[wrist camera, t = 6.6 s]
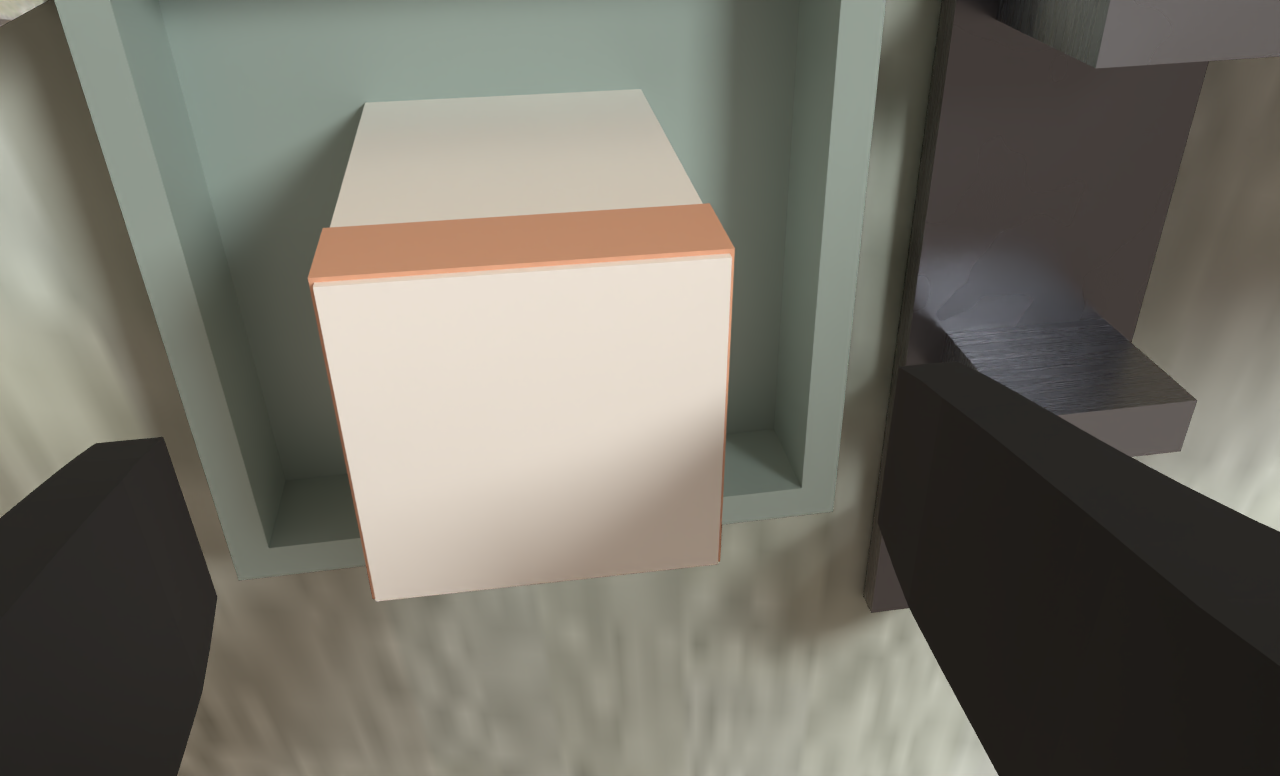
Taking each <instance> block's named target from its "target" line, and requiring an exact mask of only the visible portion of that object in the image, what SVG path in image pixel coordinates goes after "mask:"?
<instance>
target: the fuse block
mask: <svg viewBox="0 0 1280 776" xmlns="http://www.w3.org/2000/svg"><path fill="white" fill-rule="evenodd" d="M1278 56H1280V0H942V4H941V12H940V19H939V27H938V34H937V42H936V50H935V57H934V65H933V72H932V80H931V87H930V95H929V103H928V110H927V118H926V125H925V133H924V141H923V148H922V156H921V163H920V171H919V178H918V186H917V194H916V201H915V209H914V216H913V224H912V232H911V239H910V247H909V254H908V262H907V269H906V277H905V285H904V292H903V300H902V307H901V315H900V323H899V330H898V338H897V345H896V353H895V361H894V368H893V376H892V383H891V391H890V398H889V406H888V414H887V421H886V429H885V436H884V444H883V452H882V459H881V467H880V474H879V482H878V489H877V497H876V505H875V512H874V520H873V527H872V535H871V543H870V550H869V558H868V565H867V573H866V580H865V588H864V596H863V597H864V599H865V601H866V603H867V605H868V607H869V609H870V611H871V613H873V612H881V611H889V610H896V609H904V608H909V606H908V604H907V601H906V599H905V596H904V594H903V591H902V589H901V586H900V583H899V581H898V578H897V576H896V573H895V570H894V568H893V565H892V562H891V559H890V556H889V554H888V551H887V548H886V545H885V542H884V539H883V537H882V534H881V531H880V528H879V525H878V515H879V508H880V501H881V493H882V486H883V479H884V471H885V464H886V457H887V449H888V442H889V435H890V427H891V420H892V413H893V405H894V398H895V391H896V383H897V376H898V368H899V366H909V365H920V364H930V363H941V362H951V361H957V362H960V363H962V364H964V365H966V366H968V367H970V368H972V369H974V370H976V371H978V372H980V373H982V374H984V375H986V376H988V377H990V378H992V379H994V380H995V381H997V382H999V383H1001V384H1003V385H1004V386H1006V387H1008V388H1010V389H1012V390H1013V391H1015V392H1017V393H1019V394H1020V395H1022V396H1024V397H1026V398H1028V399H1029V400H1031V401H1033V402H1035V403H1036V404H1038V405H1040V406H1041V407H1043V408H1045V409H1047V410H1048V411H1050V412H1052V413H1054V414H1055V415H1057V416H1059V417H1061V418H1062V419H1064V420H1066V421H1068V422H1069V423H1071V424H1073V425H1075V426H1076V427H1078V428H1080V429H1082V430H1083V431H1085V432H1087V433H1089V434H1090V435H1092V436H1094V437H1096V438H1098V439H1099V440H1101V441H1103V442H1105V443H1107V444H1108V445H1110V446H1112V447H1114V448H1115V449H1117V450H1119V451H1121V452H1123V453H1124V454H1126V455H1128V456H1130V457H1133V456H1142V455H1151V454H1160V453H1168V452H1177V451H1181V448H1182V445H1183V442H1184V439H1185V436H1186V433H1187V430H1188V427H1189V424H1190V421H1191V418H1192V414H1193V411H1194V408H1195V405H1196V402H1197V400H1196V399H1195V398H1194V397H1193V396H1192V395H1190V394H1189V393H1188V392H1187V391H1186V390H1185V389H1184V388H1182V387H1181V386H1180V385H1179V384H1178V383H1177V382H1176V381H1174V380H1173V379H1172V378H1171V377H1170V376H1169V375H1168V374H1166V373H1165V372H1164V371H1163V370H1162V369H1161V368H1160V367H1158V366H1157V365H1156V364H1155V363H1154V362H1153V361H1152V360H1150V359H1149V358H1148V357H1147V356H1146V355H1145V354H1143V353H1142V352H1141V351H1140V350H1139V349H1138V348H1137V347H1135V346H1134V345H1133V344H1132V343H1131V342H1132V338H1133V334H1134V331H1135V327H1136V323H1137V320H1138V316H1139V313H1140V309H1141V305H1142V302H1143V298H1144V294H1145V291H1146V287H1147V284H1148V280H1149V276H1150V273H1151V269H1152V265H1153V262H1154V258H1155V254H1156V251H1157V247H1158V244H1159V240H1160V236H1161V233H1162V229H1163V225H1164V222H1165V218H1166V215H1167V211H1168V207H1169V204H1170V200H1171V196H1172V193H1173V189H1174V186H1175V182H1176V178H1177V175H1178V171H1179V167H1180V164H1181V160H1182V156H1183V153H1184V149H1185V146H1186V142H1187V138H1188V135H1189V131H1190V127H1191V124H1192V120H1193V117H1194V113H1195V109H1196V106H1197V102H1198V98H1199V95H1200V91H1201V88H1202V84H1203V80H1204V77H1205V73H1206V69H1207V66H1208V62H1209V61H1217V60H1232V59H1247V58H1263V57H1278Z"/></svg>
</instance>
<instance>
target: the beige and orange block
mask: <svg viewBox="0 0 1280 776" xmlns="http://www.w3.org/2000/svg"><path fill="white" fill-rule="evenodd" d="M734 256H735V248H734V246H733V244H732V242H731V241H730V239H729V237H728V235H727V233H726V232H725V230H724V228H723V226H722V224H721V223H720V221H719V219H718V217H717V215H716V214H715V212H714V210H713V208H712V206H711V205H710V203H707V204H703V203H702V201H701V199H700V198H699V196H698V194H697V192H696V190H695V188H694V186H693V185H692V183H691V181H690V179H689V177H688V175H687V174H686V172H685V170H684V168H683V166H682V164H681V162H680V161H679V159H678V157H677V155H676V153H675V151H674V149H673V148H672V146H671V144H670V142H669V140H668V138H667V137H666V135H665V133H664V131H663V129H662V127H661V125H660V124H659V122H658V120H657V118H656V116H655V114H654V112H653V111H652V109H651V107H650V105H649V103H648V101H647V100H646V98H645V96H644V94H643V92H642V90H641V89H632V90H612V91H591V92H571V93H551V94H530V95H510V96H490V97H469V98H449V99H428V100H408V101H388V102H367V103H365V105H364V108H363V112H362V115H361V119H360V122H359V126H358V129H357V133H356V137H355V140H354V144H353V147H352V151H351V154H350V158H349V161H348V165H347V168H346V172H345V175H344V179H343V182H342V186H341V189H340V193H339V197H338V200H337V204H336V207H335V211H334V214H333V218H332V221H331V225H330V228H322V232H321V235H320V239H319V242H318V245H317V249H316V252H315V255H314V259H313V262H312V265H311V269H310V272H309V275H308V282H309V287H310V292H311V297H312V302H313V307H314V312H315V316H316V321H317V326H318V331H319V336H320V341H321V346H322V351H323V356H324V361H325V366H326V371H327V376H328V381H329V386H330V390H331V395H332V400H333V405H334V410H335V415H336V420H337V425H338V430H339V435H340V440H341V445H342V450H343V455H344V460H345V464H346V469H347V474H348V479H349V484H350V489H351V494H352V499H353V504H354V509H355V514H356V519H357V524H358V529H359V533H360V538H361V543H362V548H363V553H364V558H365V563H366V568H367V573H368V578H369V583H370V588H371V593H372V598H373V599H376V601H385V600H394V599H403V598H413V597H422V596H431V595H440V594H450V593H459V592H468V591H477V590H486V589H496V588H505V587H514V586H523V585H532V584H542V583H551V582H560V581H569V580H578V579H588V578H597V577H606V576H615V575H625V574H634V573H643V572H652V571H661V570H671V569H680V568H689V567H698V566H707V565H717V564H718V562H720V553H721V532H722V511H723V489H724V468H725V447H726V426H727V405H728V383H729V362H730V341H731V320H732V298H733V277H734Z"/></svg>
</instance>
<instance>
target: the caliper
mask: <svg viewBox="0 0 1280 776" xmlns="http://www.w3.org/2000/svg"><path fill="white" fill-rule="evenodd" d="M46 1H48V0H0V27H1V26H2V25H4V24H6V23H8V22H10V21H12V20H13V19H15V18H17V17H19V16H21V15H22V14H24V13H26V12H28V11H30V10H32V9H33V8H35V7H37V6H39V5H41V4H42V3H44V2H46Z"/></svg>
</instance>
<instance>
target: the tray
mask: <svg viewBox="0 0 1280 776" xmlns="http://www.w3.org/2000/svg"><path fill="white" fill-rule="evenodd" d="M54 1H55V4H56V7H57V10H58V14H59V17H60V20H61V23H62V26H63V29H64V33H65V36H66V39H67V42H68V45H69V48H70V51H71V55H72V58H73V61H74V64H75V67H76V70H77V73H78V77H79V80H80V83H81V86H82V89H83V92H84V95H85V99H86V102H87V105H88V108H89V111H90V114H91V117H92V121H93V124H94V127H95V130H96V133H97V136H98V139H99V143H100V146H101V149H102V152H103V155H104V158H105V161H106V165H107V168H108V171H109V174H110V177H111V180H112V183H113V187H114V190H115V193H116V196H117V199H118V202H119V205H120V209H121V212H122V215H123V218H124V221H125V224H126V227H127V231H128V234H129V237H130V240H131V243H132V246H133V249H134V253H135V256H136V259H137V262H138V265H139V268H140V271H141V275H142V278H143V281H144V284H145V287H146V290H147V293H148V297H149V300H150V303H151V306H152V309H153V312H154V315H155V319H156V322H157V325H158V328H159V331H160V334H161V338H162V341H163V344H164V347H165V350H166V353H167V356H168V360H169V363H170V366H171V369H172V372H173V375H174V378H175V382H176V385H177V388H178V391H179V394H180V397H181V400H182V404H183V407H184V410H185V413H186V416H187V419H188V422H189V426H190V429H191V432H192V435H193V438H194V441H195V444H196V448H197V451H198V454H199V457H200V460H201V463H202V466H203V470H204V473H205V476H206V479H207V482H208V485H209V488H210V492H211V495H212V498H213V501H214V504H215V507H216V510H217V514H218V517H219V520H220V523H221V526H222V529H223V532H224V536H225V539H226V542H227V545H228V548H229V551H230V554H231V558H232V561H233V564H234V567H235V570H236V573H237V576H238V580H239V581H240V580H248V579H257V578H266V577H274V576H283V575H291V574H300V573H309V572H317V571H326V570H335V569H343V568H352V567H360V566H366V563H365V558H364V553H363V548H362V543H361V538H360V533H359V529H358V524H357V519H356V514H355V509H354V504H353V499H352V494H351V489H350V484H349V479H348V474H347V469H346V464H345V460H344V455H343V450H342V445H341V440H340V435H339V430H338V425H337V420H336V415H335V410H334V405H333V400H332V395H331V390H330V386H329V381H328V376H327V371H326V366H325V361H324V356H323V351H322V346H321V341H320V336H319V331H318V326H317V321H316V316H315V312H314V307H313V302H312V297H311V292H310V287H309V282H308V275H309V272H310V269H311V265H312V262H313V259H314V255H315V252H316V249H317V245H318V242H319V239H320V235H321V232H322V228H330V225H331V221H332V218H333V214H334V211H335V207H336V204H337V200H338V197H339V193H340V189H341V186H342V182H343V179H344V175H345V172H346V168H347V165H348V161H349V158H350V154H351V151H352V147H353V144H354V140H355V137H356V133H357V129H358V126H359V122H360V119H361V115H362V112H363V108H364V105H365V103H367V102H388V101H408V100H428V99H449V98H469V97H490V96H510V95H530V94H551V93H571V92H591V91H612V90H632V89H641V90H642V92H643V94H644V96H645V98H646V100H647V101H648V103H649V105H650V107H651V109H652V111H653V112H654V114H655V116H656V118H657V120H658V122H659V124H660V125H661V127H662V129H663V131H664V133H665V135H666V137H667V138H668V140H669V142H670V144H671V146H672V148H673V149H674V151H675V153H676V155H677V157H678V159H679V161H680V162H681V164H682V166H683V168H684V170H685V172H686V174H687V175H688V177H689V179H690V181H691V183H692V185H693V186H694V188H695V190H696V192H697V194H698V196H699V198H700V199H701V201H702V203H703V204H707V203H710V205H711V206H712V208H713V210H714V212H715V214H716V215H717V217H718V219H719V221H720V223H721V224H722V226H723V228H724V230H725V232H726V233H727V235H728V237H729V239H730V241H731V242H732V244H733V246H734V248H735V256H734V277H733V298H732V320H731V341H730V362H729V383H728V405H727V426H726V447H725V468H724V489H723V511H722V525H723V524H732V523H740V522H749V521H758V520H766V519H775V518H783V517H792V516H801V515H809V514H818V513H827V512H833V508H834V498H835V488H836V479H837V469H838V459H839V450H840V440H841V430H842V421H843V411H844V401H845V392H846V382H847V372H848V363H849V353H850V343H851V334H852V324H853V314H854V305H855V295H856V285H857V276H858V266H859V256H860V247H861V237H862V227H863V218H864V208H865V198H866V189H867V179H868V169H869V160H870V150H871V140H872V131H873V121H874V111H875V102H876V92H877V82H878V73H879V63H880V53H881V44H882V34H883V24H884V15H885V5H886V0H54Z"/></svg>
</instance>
